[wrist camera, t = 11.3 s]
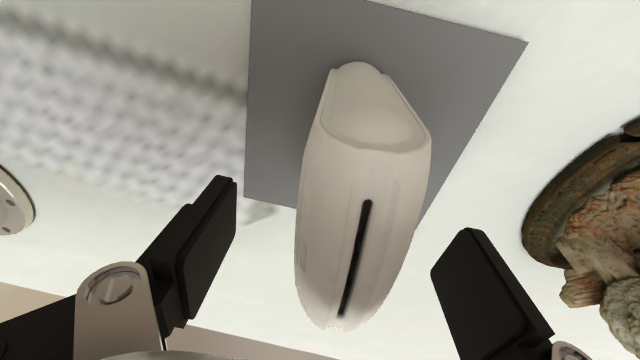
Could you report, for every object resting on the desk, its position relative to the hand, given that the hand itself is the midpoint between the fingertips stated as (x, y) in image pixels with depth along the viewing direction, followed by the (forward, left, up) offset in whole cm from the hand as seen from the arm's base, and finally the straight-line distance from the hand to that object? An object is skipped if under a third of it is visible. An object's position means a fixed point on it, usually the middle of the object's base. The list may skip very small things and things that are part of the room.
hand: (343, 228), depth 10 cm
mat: (+1, 0, -10) cm, 10 cm away
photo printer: (0, 0, -10) cm, 10 cm away
